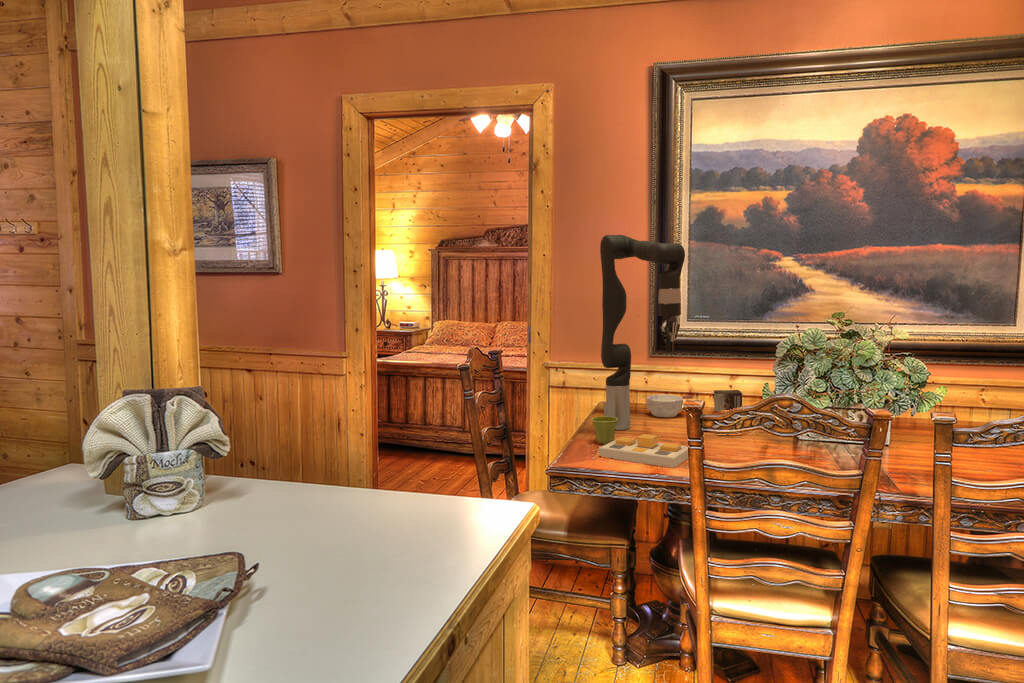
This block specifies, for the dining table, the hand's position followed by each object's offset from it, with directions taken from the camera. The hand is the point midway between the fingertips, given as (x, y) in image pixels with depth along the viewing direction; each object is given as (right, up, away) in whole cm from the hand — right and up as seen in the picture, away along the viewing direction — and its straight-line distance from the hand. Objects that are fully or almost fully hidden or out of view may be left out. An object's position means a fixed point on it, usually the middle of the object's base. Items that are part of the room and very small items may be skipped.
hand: (669, 352), depth 226 cm
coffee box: (+26, -31, +17) cm, 44 cm away
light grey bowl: (+11, -28, +53) cm, 61 cm away
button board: (-10, -34, -9) cm, 37 cm away
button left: (-16, -33, -3) cm, 36 cm away
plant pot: (-21, -33, +10) cm, 41 cm away
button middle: (-9, -31, -8) cm, 33 cm away
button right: (-3, -33, -13) cm, 36 cm away
